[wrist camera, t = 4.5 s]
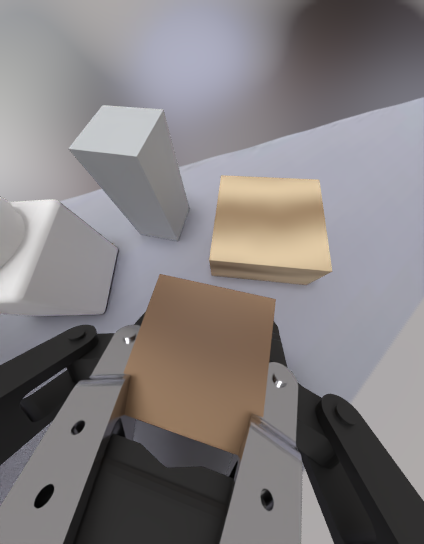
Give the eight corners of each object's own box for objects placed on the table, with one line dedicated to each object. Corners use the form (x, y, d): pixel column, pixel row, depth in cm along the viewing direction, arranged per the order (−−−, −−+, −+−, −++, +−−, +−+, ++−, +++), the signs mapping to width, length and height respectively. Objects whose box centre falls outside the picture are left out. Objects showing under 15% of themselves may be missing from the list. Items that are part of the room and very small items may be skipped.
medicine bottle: (119, 247, 17) (-67, 96, 6) (106, 314, 15) (-248, 267, 4) (58, 250, 18) (-228, 112, 6) (34, 316, 15) (-495, 279, 4)
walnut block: (233, 373, 13) (258, 462, 4) (180, 358, 13) (109, 409, 5) (243, 317, 14) (275, 299, 6) (195, 305, 15) (159, 274, 6)
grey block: (177, 241, 17) (136, 156, 9) (140, 234, 18) (68, 148, 9) (189, 208, 19) (163, 109, 10) (154, 203, 19) (102, 105, 11)
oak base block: (304, 285, 15) (332, 271, 11) (211, 276, 16) (209, 260, 12) (298, 210, 18) (319, 179, 14) (221, 205, 19) (221, 175, 15)
